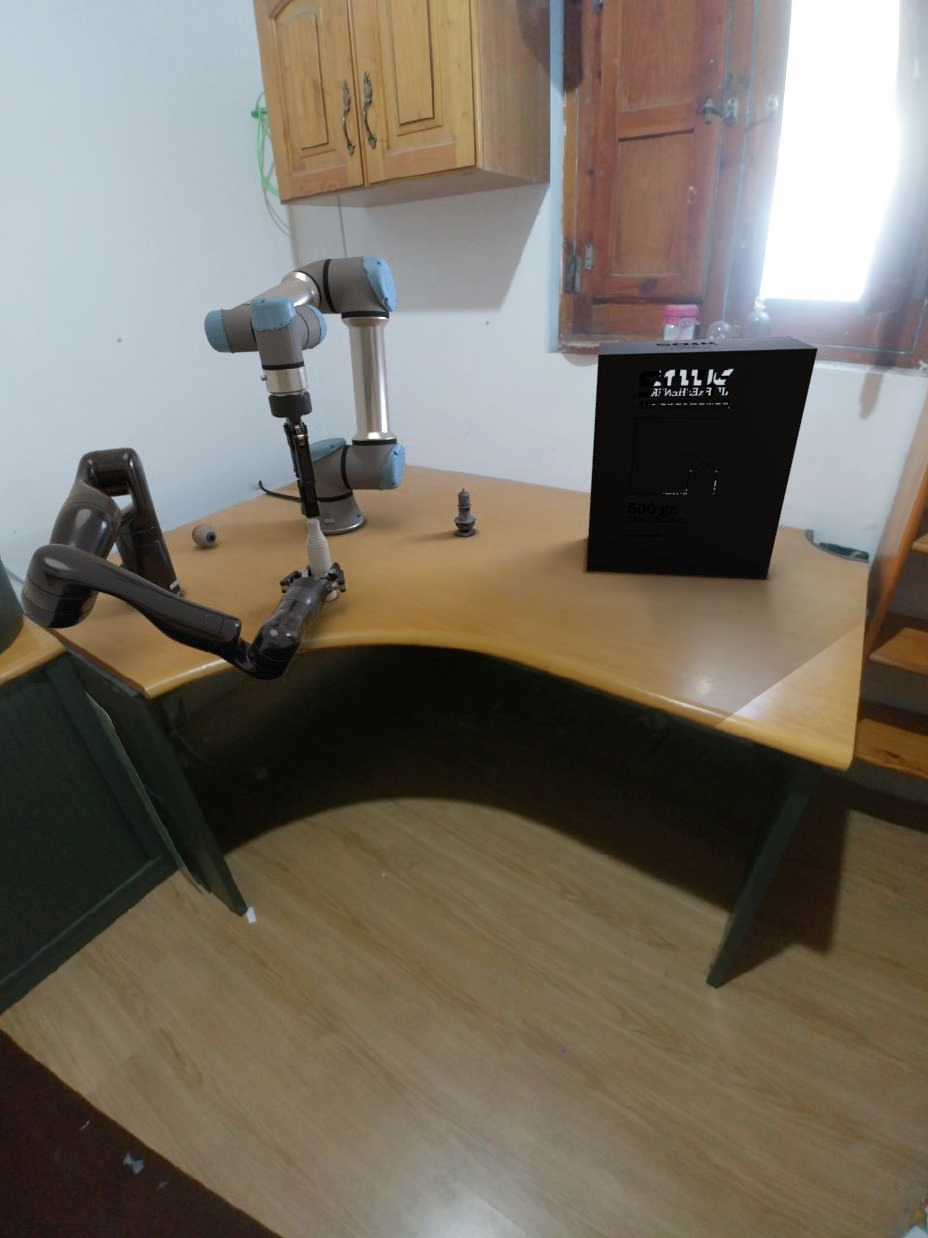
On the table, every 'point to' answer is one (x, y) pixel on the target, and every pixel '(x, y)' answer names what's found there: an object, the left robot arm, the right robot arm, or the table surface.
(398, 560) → the table surface
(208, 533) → the eyeball
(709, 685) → the table surface
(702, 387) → the cardboard box
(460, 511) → the salt shaker
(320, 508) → the cap
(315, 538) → the bottle
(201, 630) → the left robot arm
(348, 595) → the table surface
